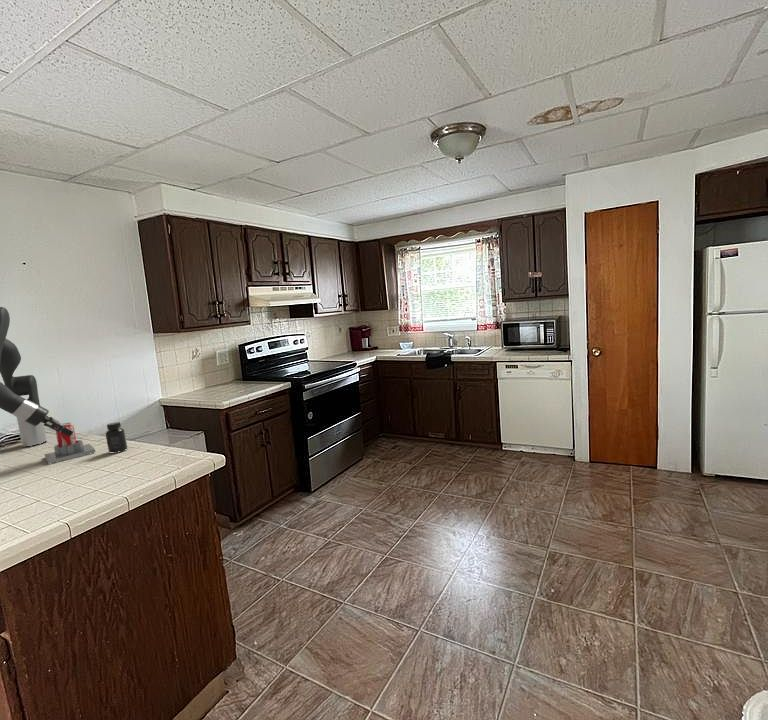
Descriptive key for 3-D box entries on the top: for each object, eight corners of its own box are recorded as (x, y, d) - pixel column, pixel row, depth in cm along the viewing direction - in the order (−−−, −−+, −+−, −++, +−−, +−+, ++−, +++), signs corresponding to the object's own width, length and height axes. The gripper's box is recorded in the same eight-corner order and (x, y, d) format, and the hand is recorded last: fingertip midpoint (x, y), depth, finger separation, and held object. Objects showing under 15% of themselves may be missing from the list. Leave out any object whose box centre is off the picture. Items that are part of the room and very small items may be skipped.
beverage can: (68, 454, 179) (63, 426, 177) (55, 454, 180) (50, 426, 179) (81, 449, 185) (76, 422, 183) (69, 449, 186) (64, 422, 185)
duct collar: (44, 457, 182) (42, 446, 182) (89, 447, 193) (87, 436, 193) (48, 464, 172) (46, 452, 172) (95, 452, 183) (93, 441, 182)
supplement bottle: (131, 448, 185) (126, 420, 184) (120, 453, 179) (115, 425, 177) (116, 448, 186) (111, 421, 185) (104, 454, 179) (100, 426, 178)
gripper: (39, 406, 170) (79, 427, 179) (36, 402, 180) (74, 422, 189) (24, 422, 167) (66, 443, 176) (22, 418, 177) (61, 437, 186)
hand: (70, 432), depth 182 cm, fingers open, 8 cm apart
